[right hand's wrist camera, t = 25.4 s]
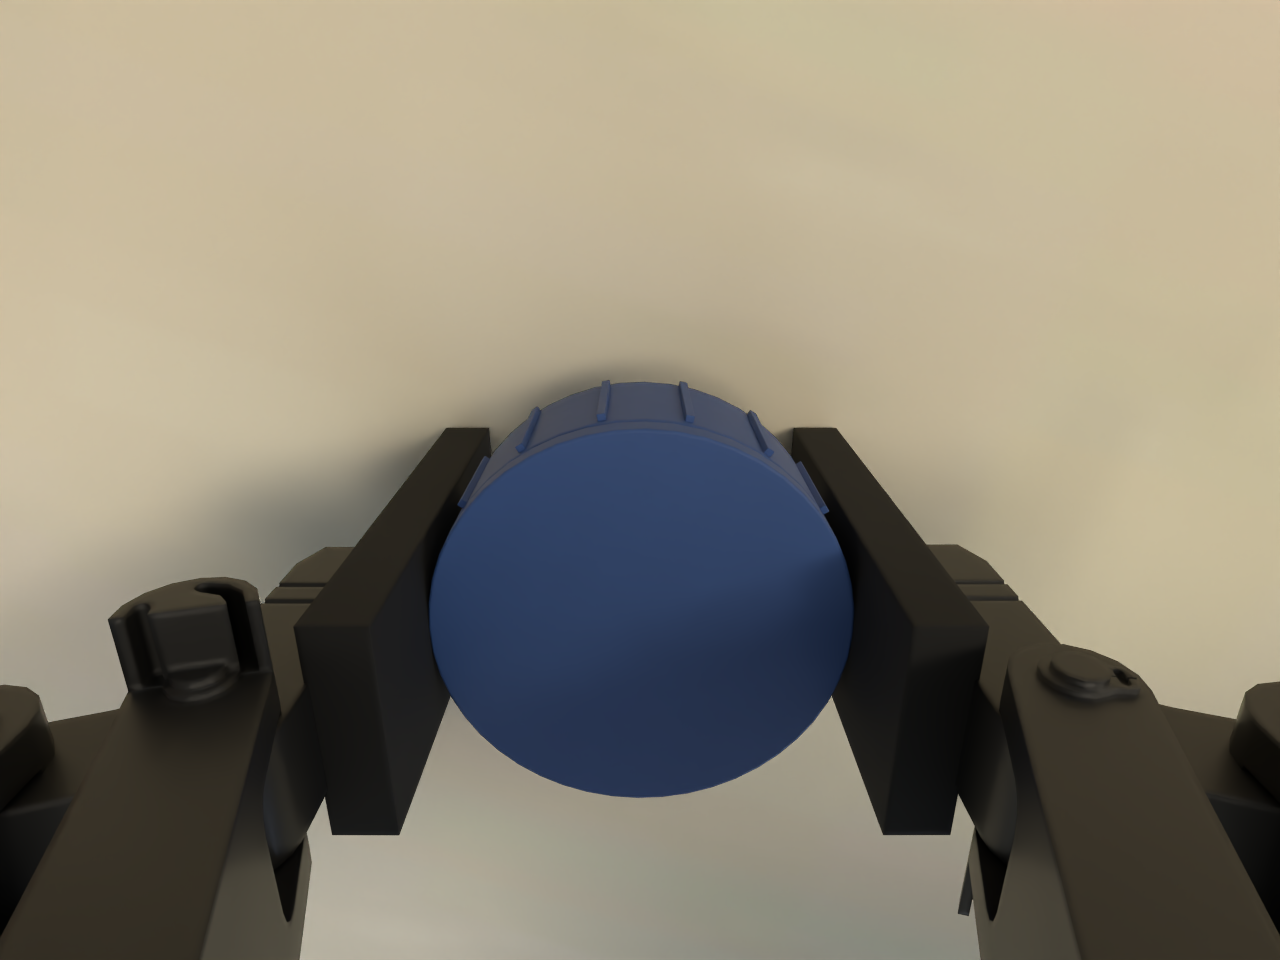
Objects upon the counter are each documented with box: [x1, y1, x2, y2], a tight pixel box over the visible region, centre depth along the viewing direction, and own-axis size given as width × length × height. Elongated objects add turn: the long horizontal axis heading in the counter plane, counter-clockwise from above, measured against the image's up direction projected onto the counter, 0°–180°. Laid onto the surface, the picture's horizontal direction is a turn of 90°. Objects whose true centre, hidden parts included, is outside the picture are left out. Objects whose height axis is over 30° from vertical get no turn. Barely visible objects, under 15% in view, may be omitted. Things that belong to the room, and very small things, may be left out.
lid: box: [428, 380, 854, 798], centre depth 11 cm, size 6×6×2 cm
